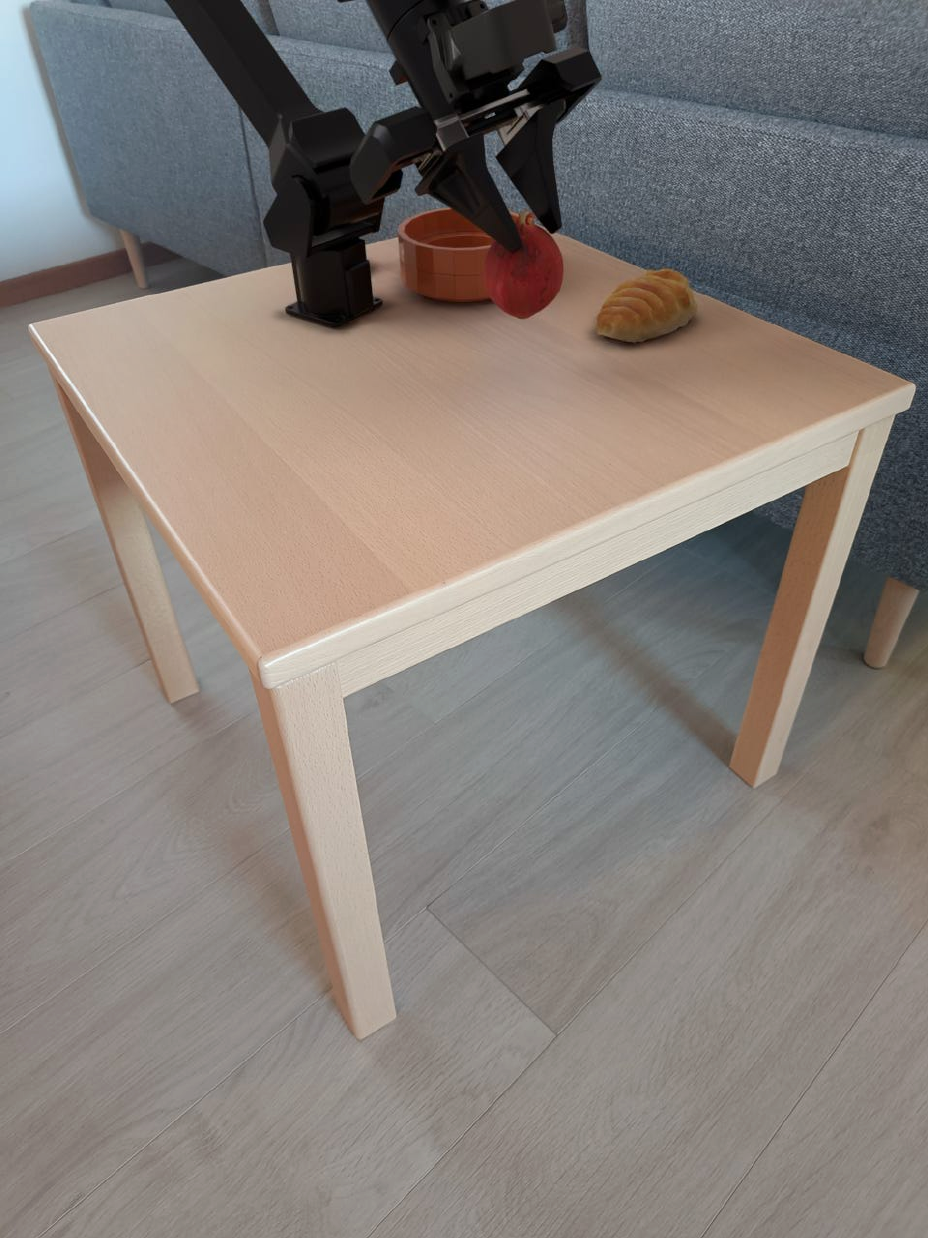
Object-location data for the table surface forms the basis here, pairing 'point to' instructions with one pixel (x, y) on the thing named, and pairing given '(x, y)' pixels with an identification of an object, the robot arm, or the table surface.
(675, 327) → the pastry
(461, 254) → the bowl
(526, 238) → the onion
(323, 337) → the table surface
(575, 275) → the table surface
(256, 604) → the table surface
